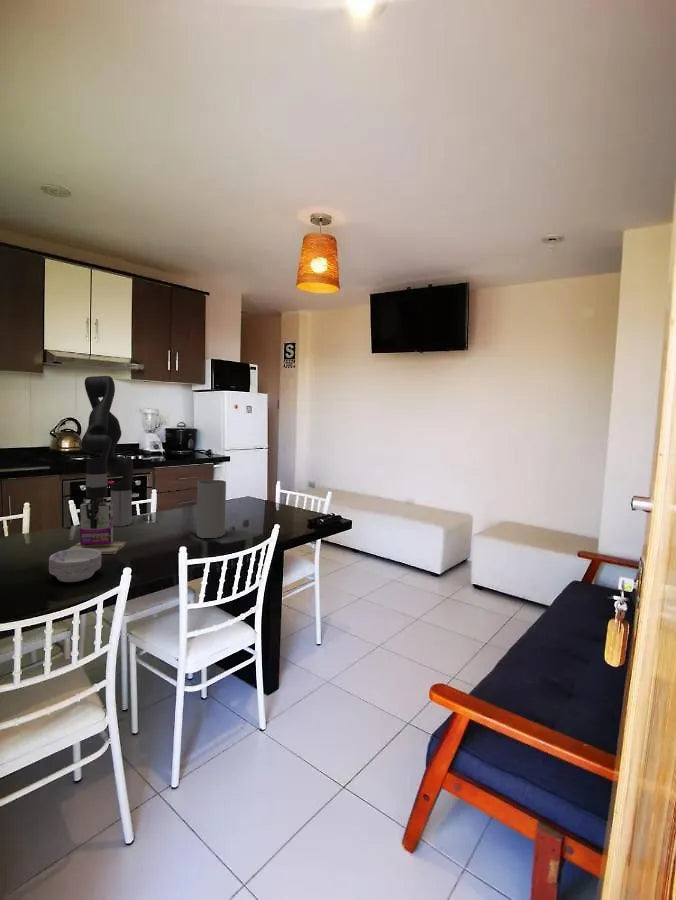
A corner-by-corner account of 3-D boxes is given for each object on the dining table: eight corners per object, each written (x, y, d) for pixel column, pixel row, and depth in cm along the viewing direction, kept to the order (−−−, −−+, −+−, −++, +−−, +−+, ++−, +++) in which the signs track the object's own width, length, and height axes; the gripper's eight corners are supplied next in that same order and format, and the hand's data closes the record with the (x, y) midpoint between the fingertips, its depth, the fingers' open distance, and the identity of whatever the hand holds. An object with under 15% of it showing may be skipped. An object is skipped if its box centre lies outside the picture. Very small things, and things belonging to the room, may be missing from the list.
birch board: (81, 543, 186) (81, 541, 186) (126, 544, 188) (126, 541, 188) (64, 554, 172) (64, 551, 172) (113, 554, 174) (113, 551, 174)
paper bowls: (104, 580, 148) (104, 557, 148) (50, 589, 140) (50, 564, 139) (98, 566, 161) (98, 545, 160) (47, 574, 152) (47, 551, 151)
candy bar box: (113, 541, 184) (113, 501, 183) (110, 544, 179) (110, 504, 178) (83, 542, 181) (83, 502, 180) (79, 545, 176) (79, 504, 175)
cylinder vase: (198, 532, 211) (198, 479, 209) (225, 531, 214) (226, 479, 212) (195, 539, 199) (196, 483, 197) (224, 539, 202) (225, 484, 200)
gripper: (94, 481, 185) (94, 522, 186) (78, 487, 171) (78, 531, 172) (113, 482, 186) (113, 522, 187) (99, 488, 171) (99, 531, 173)
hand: (96, 526), depth 180 cm, fingers closed on candy bar box, 5 cm apart
